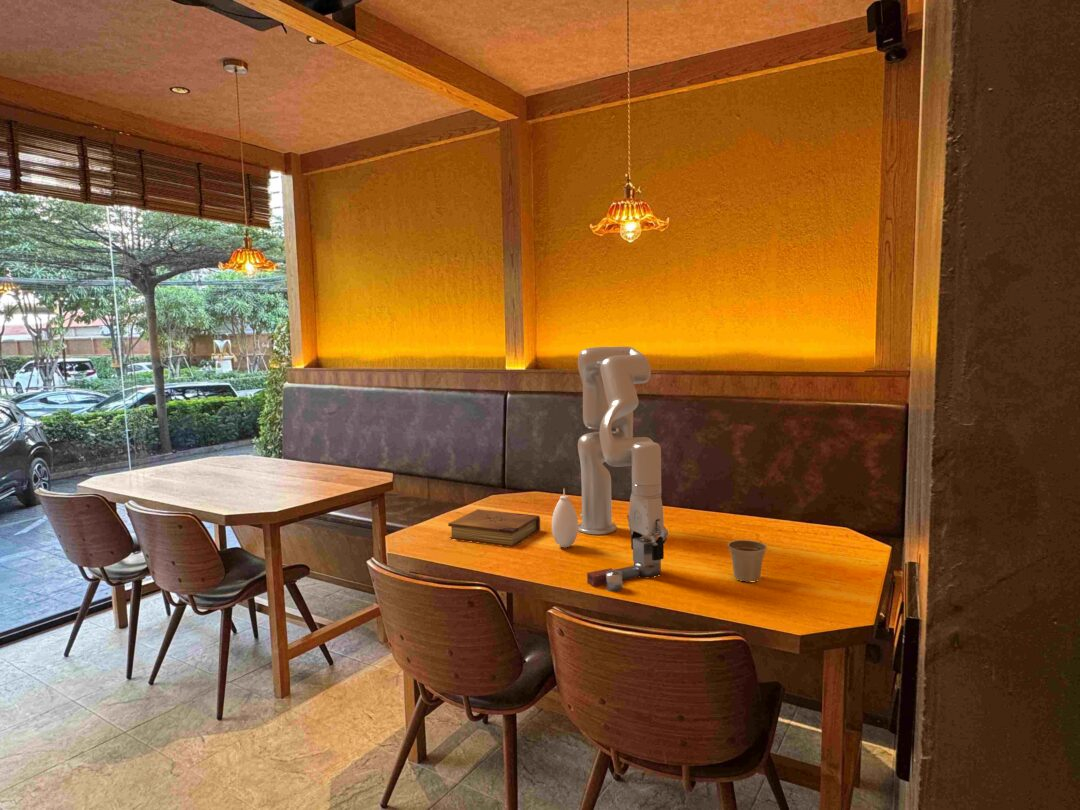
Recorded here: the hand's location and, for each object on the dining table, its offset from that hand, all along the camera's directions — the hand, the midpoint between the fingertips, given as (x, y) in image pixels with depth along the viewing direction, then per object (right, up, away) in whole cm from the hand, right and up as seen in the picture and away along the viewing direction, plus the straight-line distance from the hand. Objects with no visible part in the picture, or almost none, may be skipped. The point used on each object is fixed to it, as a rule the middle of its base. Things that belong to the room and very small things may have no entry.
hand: (647, 554), depth 171 cm
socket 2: (0, -2, 0) cm, 2 cm away
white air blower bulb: (-20, -4, +24) cm, 32 cm away
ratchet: (-6, -6, -2) cm, 9 cm away
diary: (-42, -3, +38) cm, 57 cm away
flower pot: (+25, -5, -5) cm, 26 cm away
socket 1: (-10, -7, -9) cm, 15 cm away
